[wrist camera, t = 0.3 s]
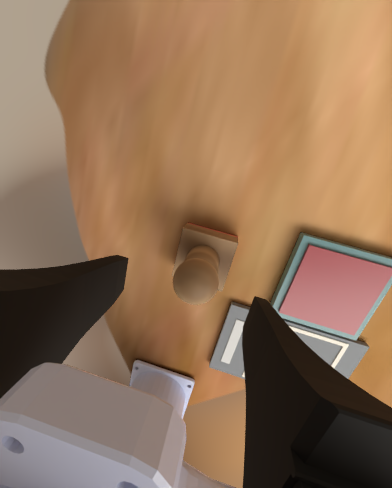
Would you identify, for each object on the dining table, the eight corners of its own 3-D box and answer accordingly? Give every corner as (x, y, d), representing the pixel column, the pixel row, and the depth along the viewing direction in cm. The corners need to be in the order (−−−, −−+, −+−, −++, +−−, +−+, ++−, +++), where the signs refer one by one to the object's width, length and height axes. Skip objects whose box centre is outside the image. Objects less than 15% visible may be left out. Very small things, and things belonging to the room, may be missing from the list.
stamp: (223, 280, 23) (217, 333, 15) (177, 266, 23) (150, 311, 16) (237, 236, 21) (239, 271, 14) (188, 222, 21) (163, 248, 14)
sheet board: (326, 401, 25) (329, 408, 24) (209, 362, 26) (208, 367, 26) (366, 342, 22) (370, 348, 21) (231, 301, 23) (231, 305, 22)
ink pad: (350, 333, 22) (357, 343, 21) (268, 308, 23) (269, 315, 21) (397, 258, 19) (408, 264, 18) (300, 232, 20) (305, 236, 19)
